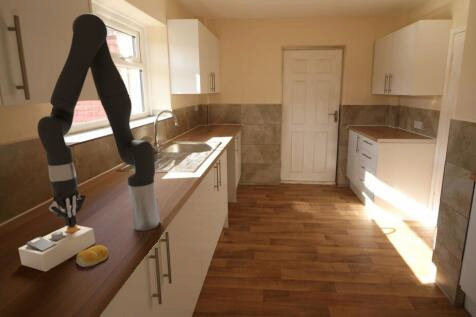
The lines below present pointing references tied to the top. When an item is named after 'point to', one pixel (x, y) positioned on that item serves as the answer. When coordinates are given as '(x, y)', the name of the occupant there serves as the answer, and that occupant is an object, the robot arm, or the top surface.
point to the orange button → (72, 229)
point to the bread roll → (92, 256)
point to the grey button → (57, 236)
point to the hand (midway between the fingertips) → (71, 226)
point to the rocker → (40, 244)
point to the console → (57, 249)
